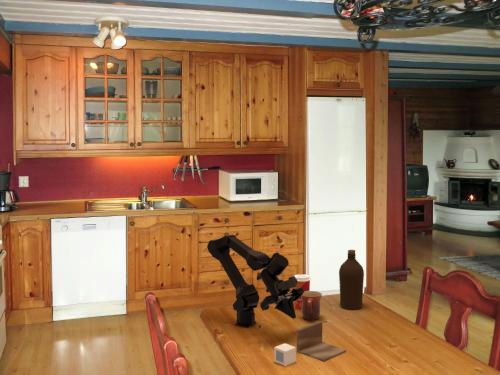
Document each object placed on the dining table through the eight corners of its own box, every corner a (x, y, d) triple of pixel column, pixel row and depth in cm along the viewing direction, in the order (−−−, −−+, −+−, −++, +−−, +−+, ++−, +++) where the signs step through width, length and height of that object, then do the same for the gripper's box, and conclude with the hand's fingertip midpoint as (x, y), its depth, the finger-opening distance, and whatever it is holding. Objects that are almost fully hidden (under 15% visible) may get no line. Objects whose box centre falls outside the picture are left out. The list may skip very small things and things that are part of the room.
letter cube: (274, 362, 180) (274, 347, 179) (284, 357, 183) (284, 343, 183) (285, 366, 176) (285, 351, 175) (295, 361, 179) (295, 347, 179)
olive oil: (347, 311, 230) (348, 253, 227) (334, 304, 239) (334, 249, 237) (368, 308, 234) (369, 251, 231) (354, 301, 243) (354, 246, 241)
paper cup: (291, 305, 239) (291, 274, 238) (308, 304, 240) (308, 273, 239) (294, 310, 232) (294, 278, 230) (312, 310, 232) (312, 278, 231)
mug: (301, 314, 227) (301, 290, 226) (322, 315, 225) (322, 291, 225) (298, 323, 216) (298, 298, 215) (320, 325, 214) (320, 299, 213)
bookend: (296, 351, 188) (296, 329, 187) (319, 342, 196) (319, 321, 195) (323, 362, 179) (323, 338, 178) (346, 352, 187) (346, 329, 186)
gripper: (264, 274, 192) (288, 311, 185) (300, 265, 205) (323, 300, 197) (250, 292, 198) (272, 328, 191) (285, 282, 211) (307, 316, 204)
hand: (294, 318), depth 196 cm, fingers closed
